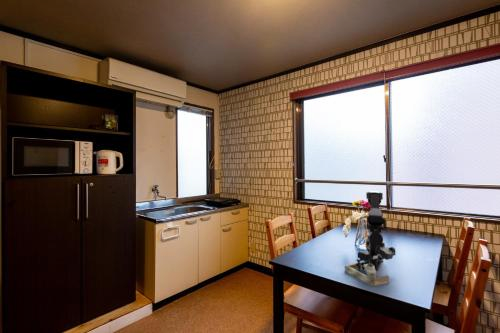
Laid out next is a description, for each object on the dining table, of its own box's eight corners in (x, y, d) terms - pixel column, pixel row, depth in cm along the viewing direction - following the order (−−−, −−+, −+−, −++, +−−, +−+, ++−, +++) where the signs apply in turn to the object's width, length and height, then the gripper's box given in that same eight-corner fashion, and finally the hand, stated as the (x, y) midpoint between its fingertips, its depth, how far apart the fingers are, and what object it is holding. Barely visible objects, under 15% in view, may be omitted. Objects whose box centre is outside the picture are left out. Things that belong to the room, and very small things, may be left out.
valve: (381, 279, 114) (369, 268, 126) (378, 265, 114) (366, 255, 126) (367, 281, 114) (356, 270, 126) (365, 268, 114) (354, 258, 126)
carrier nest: (344, 271, 125) (344, 265, 125) (359, 267, 129) (359, 262, 129) (373, 286, 109) (373, 279, 109) (388, 282, 113) (388, 275, 113)
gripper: (376, 246, 110) (376, 281, 110) (403, 241, 117) (404, 274, 117) (356, 240, 120) (357, 271, 120) (383, 235, 128) (383, 265, 127)
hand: (376, 271), depth 121 cm, fingers closed
